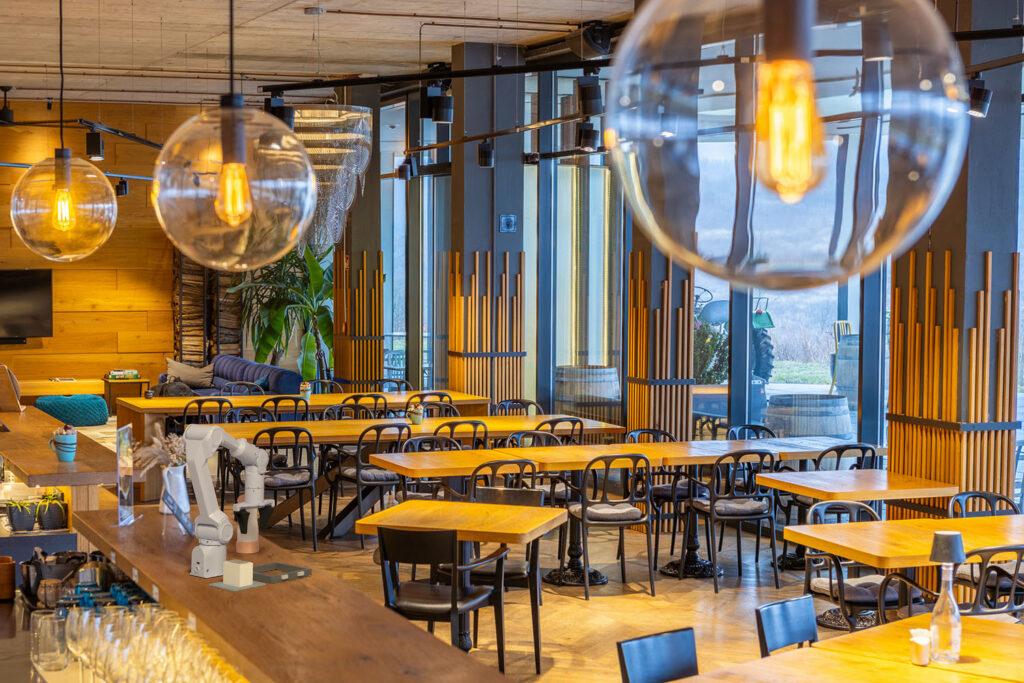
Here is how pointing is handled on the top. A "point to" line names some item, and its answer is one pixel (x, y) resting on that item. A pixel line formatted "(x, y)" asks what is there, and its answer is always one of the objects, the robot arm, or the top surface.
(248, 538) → the salt shaker
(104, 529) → the top surface
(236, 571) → the block
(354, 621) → the top surface
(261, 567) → the frame
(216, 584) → the slate mat
